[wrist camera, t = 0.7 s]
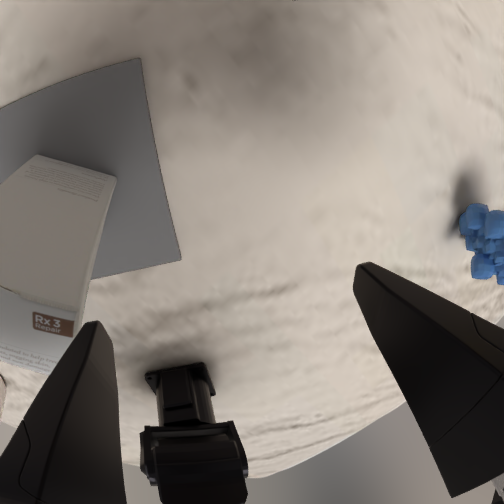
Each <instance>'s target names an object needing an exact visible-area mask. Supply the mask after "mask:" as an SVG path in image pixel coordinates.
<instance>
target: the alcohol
mask: <svg viewBox="0 0 504 504" xmlns="http://www.w3.org/2000/svg"><path fill="white" fill-rule="evenodd" d="M5 396H6V388H5V384H4V381H3V379H2V377H1V376H0V422H1V416H2V411H3V406H4V401H5Z"/></svg>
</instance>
